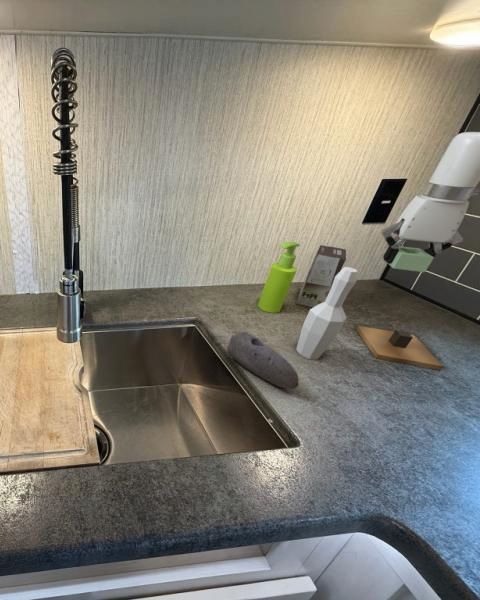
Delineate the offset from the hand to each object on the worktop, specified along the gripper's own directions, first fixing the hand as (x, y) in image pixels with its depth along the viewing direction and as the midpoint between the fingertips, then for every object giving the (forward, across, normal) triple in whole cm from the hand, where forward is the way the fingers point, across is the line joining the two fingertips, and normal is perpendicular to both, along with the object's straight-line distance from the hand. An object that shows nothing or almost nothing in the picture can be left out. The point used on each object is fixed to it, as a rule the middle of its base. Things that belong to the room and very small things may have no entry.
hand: (404, 263), depth 81 cm
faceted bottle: (+16, +22, +27) cm, 38 cm away
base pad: (+16, +2, +17) cm, 23 cm away
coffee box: (+16, +16, -1) cm, 22 cm away
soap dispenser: (+16, +29, +8) cm, 34 cm away
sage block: (+1, 0, 0) cm, 1 cm away
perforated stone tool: (+16, +34, +38) cm, 54 cm away
